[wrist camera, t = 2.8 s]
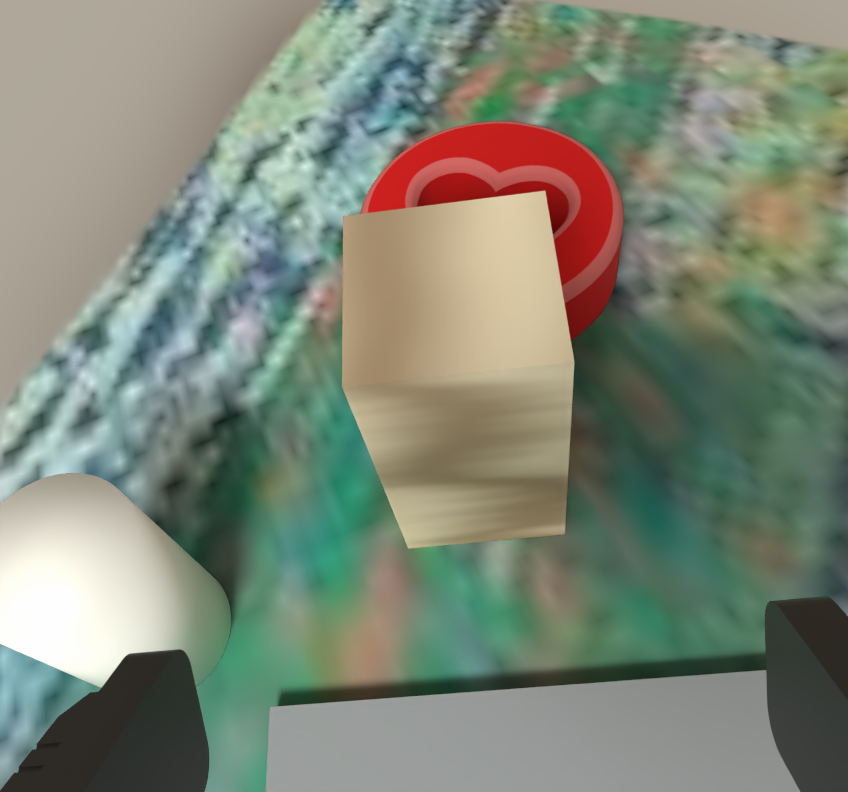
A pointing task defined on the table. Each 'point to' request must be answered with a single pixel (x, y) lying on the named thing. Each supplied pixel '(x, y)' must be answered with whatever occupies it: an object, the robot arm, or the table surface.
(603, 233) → the decorative ornament
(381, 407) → the beech block
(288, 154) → the table surface
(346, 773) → the grey mat
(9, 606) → the white cylinder
